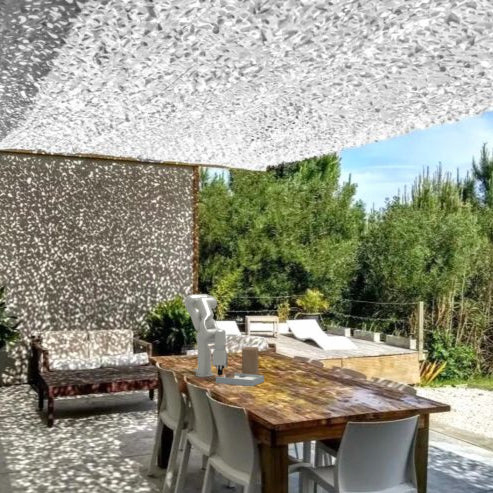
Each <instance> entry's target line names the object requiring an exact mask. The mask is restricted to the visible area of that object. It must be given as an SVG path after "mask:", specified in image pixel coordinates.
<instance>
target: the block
mask: <svg viewBox="0 0 493 493" xmlns="http://www.w3.org/2000/svg"><path fill="white" fill-rule="evenodd" d="M241 374H251V375H259V347H257V346H245V347H242V349H241Z"/></svg>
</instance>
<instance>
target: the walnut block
mask: <svg viewBox="0 0 493 493" xmlns="http://www.w3.org/2000/svg"><path fill="white" fill-rule="evenodd" d="M234 373H235V372H226V373H225V375H224V376H225V377H226V378H234Z"/></svg>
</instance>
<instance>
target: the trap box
mask: <svg viewBox="0 0 493 493" xmlns="http://www.w3.org/2000/svg"><path fill="white" fill-rule="evenodd" d="M233 373H234V378H226V377H225V375H224V376H215V383H216V384H221V383H222V384H223V385H234V386H243V387H244V386H245V387H254V386H257V385H260V384H262V383H264V382H265V375H262V374H258V375H251V374H242V373H237V372H233Z"/></svg>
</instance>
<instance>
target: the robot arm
mask: <svg viewBox="0 0 493 493" xmlns="http://www.w3.org/2000/svg"><path fill="white" fill-rule="evenodd" d="M184 305H185V309H186V311H187V313H188V314H189V316H190V318H191V321H192V324H193V326H194V329H195V331H197V333H196V336H195V338H196V344H197V368H193V373H195V377H198V378H207V377H209V378H210V377H213V376H214V373H213V372H212V366H213V367H215V368H216V370H217V375H218V376H219V377H222V375H223V373H224V372H223V371H224V370H223V369H224V368H227V367H228V362H229V360H228V359H229V358H228V351H227V349H226V347H227V346H226V345H227V343H226V335H227V333H226V330H225V329H221V328H218V325H217V322H216V320H215V319H214V315H215V314H214V312H213V310H212V309H216V307H217V305H218V302H217V300H216V298H215V297H214V296H212V295H210V294H207V293H201V294H199V293H195V294H189V295H187V296H186V297H185V299H184ZM210 344H214V345H213V346H212V348H213V350H212V349H211V347H210Z"/></svg>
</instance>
